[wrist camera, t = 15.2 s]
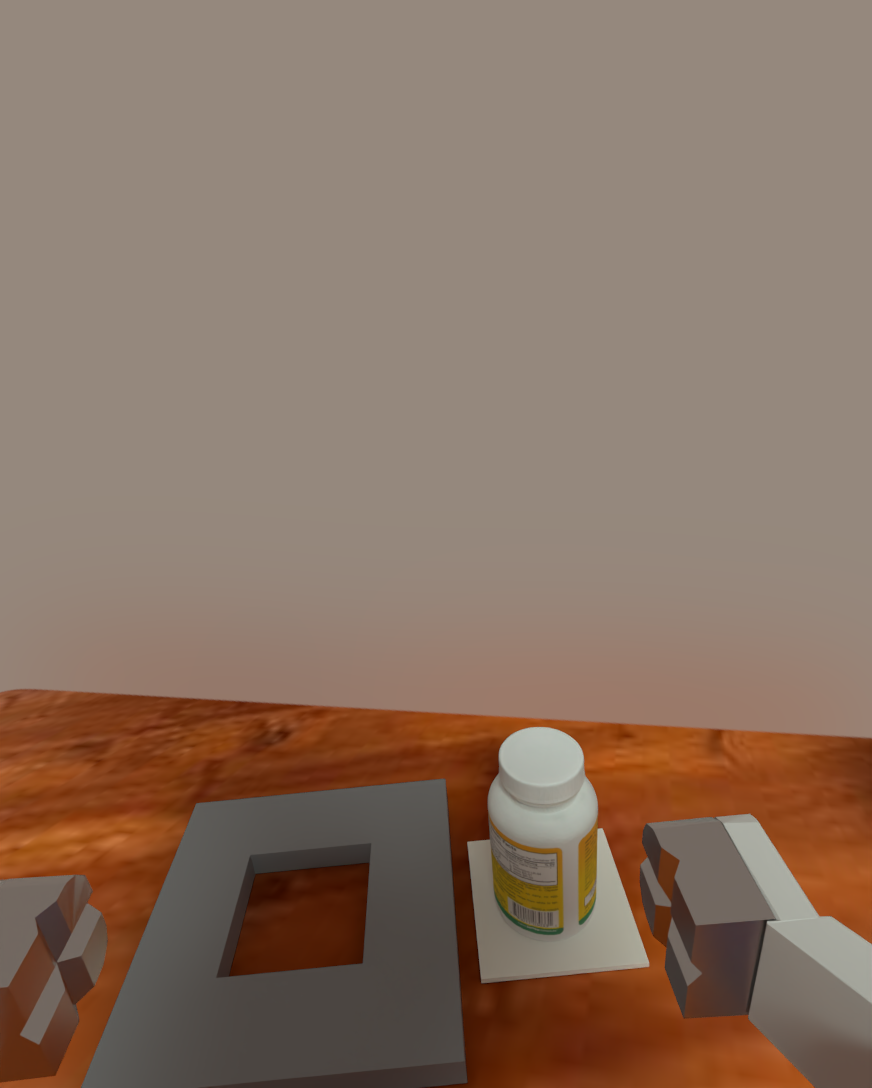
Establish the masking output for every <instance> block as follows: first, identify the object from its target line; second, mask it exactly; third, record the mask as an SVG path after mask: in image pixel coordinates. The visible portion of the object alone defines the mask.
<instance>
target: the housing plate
mask: <svg viewBox="0 0 872 1088" xmlns="http://www.w3.org/2000/svg"><path fill="white" fill-rule="evenodd" d="M369 862H370V867H369V882H368V896H367V911H366V925H365V940H364V954H363V963H362V964H352V965H342V966H332V967H322V968H312V969H301V970H291V971H281V972H271V973H261V974H251V975H241V976H231V977H229V973H230V970H231V966H232V962H233V958H234V954H235V950H236V946H237V943H238V939H239V935H240V931H241V927H242V923H243V919H244V916H245V912H246V908H247V904H248V900H249V896H250V892H251V889H252V885H253V881H254V877H255V874H258V873H268V872H278V871H288V870H298V869H308V868H319V867H329V866H339V865H349V864H359V863H369ZM462 1083H467V1070H466V1056H465V1041H464V1027H463V1013H462V999H461V985H460V970H459V956H458V942H457V928H456V914H455V899H454V885H453V871H452V857H451V843H450V828H449V814H448V800H447V790H446V781H445V779H436V780H426V781H416V782H406V783H396V784H386V785H376V786H366V787H356V788H346V789H336V790H326V791H316V792H306V793H296V794H286V795H276V796H266V797H256V798H246V799H236V800H226V801H216V802H206V803H196V805H195V808H194V810H193V813H192V815H191V818H190V820H189V823H188V825H187V828H186V830H185V833H184V835H183V838H182V840H181V842H180V845H179V847H178V850H177V852H176V855H175V857H174V860H173V862H172V865H171V867H170V870H169V872H168V875H167V877H166V879H165V882H164V884H163V887H162V889H161V892H160V894H159V897H158V899H157V902H156V904H155V907H154V909H153V911H152V914H151V916H150V919H149V921H148V924H147V926H146V929H145V931H144V934H143V936H142V939H141V941H140V944H139V946H138V948H137V951H136V953H135V956H134V958H133V961H132V963H131V966H130V968H129V971H128V973H127V976H126V978H125V981H124V983H123V985H122V988H121V990H120V993H119V995H118V998H117V1000H116V1003H115V1005H114V1008H113V1010H112V1013H111V1015H110V1017H109V1020H108V1022H107V1025H106V1027H105V1030H104V1032H103V1035H102V1037H101V1040H100V1042H99V1045H98V1047H97V1050H96V1052H95V1054H94V1057H93V1059H92V1062H91V1064H90V1067H89V1069H88V1072H87V1074H86V1077H85V1079H84V1082H83V1084H82V1087H81V1088H421V1087H432V1086H442V1085H452V1084H462Z"/></svg>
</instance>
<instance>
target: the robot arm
mask: <svg viewBox="0 0 872 1088" xmlns="http://www.w3.org/2000/svg"><path fill="white" fill-rule="evenodd" d="M642 844H643V846H644V849H645V851H646V854H647V856H648V857H647V858H646V859H645V861H644V862H643V863H642V864H641V865H640V887H641V895H642V902H643V906H644V910H645V913H646V917H647V920H648V923H649V926H650V929H651V932H652V934H653V936H654V937H655V938H656V939H657V940H658V941H659V942H661V943H662V944H663V945H664V946H665V947H666V948H667V949H666V960H665V970H666V972H667V975H668V978H669V980H670V983H671V986H672V988H673V991H674V994H675V996H676V999H677V1002H678V1004H679V1007H680V1010H681V1012H682V1015H683V1018H684V1019H685V1018H702V1017H718V1016H735V1015H749V1016H748V1019H749V1020H750V1021H751V1022H752V1023H753V1024H754V1025H755V1026H756V1027H757V1028H758V1029H759V1030H760V1031H761V1032H762V1033H763V1034H764V1035H765V1036H766V1037H767V1038H768V1040H769V1041H770V1042H771V1043H772V1044H773V1045H774V1046H775V1047H776V1048H777V1049H778V1050H779V1051H780V1052H781V1053H782V1054H783V1055H784V1056H785V1057H786V1058H787V1059H788V1060H789V1061H790V1062H791V1063H792V1064H793V1065H794V1066H795V1067H796V1068H797V1069H798V1070H799V1071H800V1072H801V1073H802V1074H803V1075H804V1076H805V1077H806V1078H807V1079H808V1081H809V1082H810V1083H811V1084H812V1085H813V1086H814V1087H815V1088H872V944H871V943H869V942H868V941H866V940H865V939H863V938H862V937H860V936H859V935H858V934H856V933H855V932H853V931H852V930H850V929H849V928H847V927H846V926H844V925H843V924H842V923H840V922H839V921H837V920H836V919H834V918H833V917H831V916H823V917H819V915H818V914H817V912H816V910H815V909H814V907H813V906H812V904H811V903H810V901H809V900H808V898H807V896H806V895H805V893H804V892H803V890H802V889H801V887H800V886H799V884H798V882H797V881H796V879H795V878H794V876H793V875H792V873H791V872H790V870H789V869H788V867H787V865H786V864H785V862H784V861H783V859H782V858H781V856H780V855H779V853H778V851H777V850H776V848H775V847H774V845H773V844H772V842H771V841H770V839H769V837H768V836H767V834H766V833H765V831H764V830H763V828H762V827H761V825H760V823H759V822H758V820H757V819H756V818H754V817H753V816H752V815H750V814H744V815H733V816H723V817H715V818H712V817H707V818H697V819H687V820H677V821H667V822H657V823H647V824H646V825H645V827H644V829H643V838H642ZM92 892H93V891H92V889H91V887H90V884H89V882H88V880H87V878H86V876H85V875H67V876H50V877H33V878H17V879H6V880H0V1082H7V1081H15V1080H24V1079H32V1078H40V1077H48V1076H55V1075H56V1073H57V1070H58V1068H59V1066H60V1064H61V1061H62V1059H63V1057H64V1055H65V1052H66V1050H67V1048H68V1045H69V1043H70V1041H71V1039H72V1036H73V1034H74V1032H75V1030H76V1027H77V1025H78V1023H79V1016H78V1012H77V1007H76V1003H77V1002H78V1001H79V1000H81V999H82V998H83V997H84V996H85V995H86V994H87V993H88V992H89V991H90V990H91V989H92V988H93V987H94V986H95V983H96V981H97V979H98V976H99V974H100V971H101V969H102V966H103V964H104V958H105V953H106V947H107V942H108V940H107V928H106V923H105V920H104V918H103V915H102V913H101V912H100V911H98V910H97V909H95V908H94V907H92V906H91V905H89V904H88V903H87V902H88V900H89V898H90V896H91V894H92Z"/></svg>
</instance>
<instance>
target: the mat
mask: <svg viewBox="0 0 872 1088" xmlns="http://www.w3.org/2000/svg"><path fill="white" fill-rule="evenodd" d="M467 844H468V854H469V864H470V874H471V884H472V894H473V904H474V914H475V924H476V934H477V944H478V954H479V964H480V974H481V983H490V982H500V981H510V980H520V979H531V978H541V977H551V976H561V975H571V974H581V973H591V972H601V971H611V970H622V969H632V968H642V967H649V961H648V958H647V955H646V952H645V949H644V946H643V943H642V941H641V938H640V935H639V932H638V929H637V926H636V923H635V920H634V917H633V915H632V912H631V909H630V906H629V903H628V900H627V897H626V894H625V892H624V889H623V886H622V883H621V880H620V877H619V874H618V871H617V869H616V866H615V863H614V860H613V857H612V854H611V851H610V848H609V845H608V843H607V840H606V837H605V834H604V831H603V828H601V829H598V833H597V882H596V904H595V909H594V911H593V914H592V917H591V918H590V920H589V922H588V924H587V925H586V926H585V927H584V928H583V929H582V930H581V931H580V932H578V933H577V934H575V935H574V936H572V937H570V938H567V939H564V940H560V941H554V942H546V941H538V940H534V939H531V938H528V937H526V936H524V935H522V934H520V933H519V932H517V931H516V930H514V929H513V928H512V927H511V926H510V925H509V924H508V923H507V922H506V921H505V920H504V918H503V917H502V915H501V913H500V912H499V910H498V907H497V904H496V901H495V896H494V887H493V871H492V857H491V844H490V840H481V841H471V842H467Z"/></svg>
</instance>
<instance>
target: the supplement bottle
mask: <svg viewBox="0 0 872 1088" xmlns="http://www.w3.org/2000/svg"><path fill="white" fill-rule="evenodd" d="M488 817H489V831H490V844H491V857H492V871H493V887H494V896H495V901H496V904H497V907H498V910H499V912H500V913H501V915H502V917H503V918H504V920H505V921H506V922H507V923H508V924H509V925H510V926H511V927H512V928H513V929H514V930H516V931H517V932H519V933H520V934H522V935H524V936H526V937H528V938H531V939H534V940H538V941H546V942H554V941H560V940H564V939H567V938H570V937H572V936H574V935H575V934H577V933H578V932H580V931H581V930H582V929H583V928H584V927H585V926H586V925H587V924H588V922H589V920H590V918H591V917H592V914H593V911H594V909H595V904H596V882H597V833H598V802H597V797H596V794H595V791H594V789H593V786H592V785H591V783H590V782H589V780H588V779H587V778H586V777H585V771H584V756H583V752H582V749H581V747H580V746H579V744H578V743H577V742H576V741H575V740H574V739H573V738H572V737H570V736H569V735H567V734H566V733H564V732H561V731H559V730H556V729H552V728H546V727H532V728H526V729H523V730H520V731H517V732H515V733H513V734H512V735H510V736H509V737H508V738H507V739H506V740H505V741H504V742H503V744H502V745H501V747H500V750H499V774H498V775H497V776H496V778H495V779H494V781H493V782H492V784H491V787H490V790H489V793H488Z"/></svg>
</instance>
